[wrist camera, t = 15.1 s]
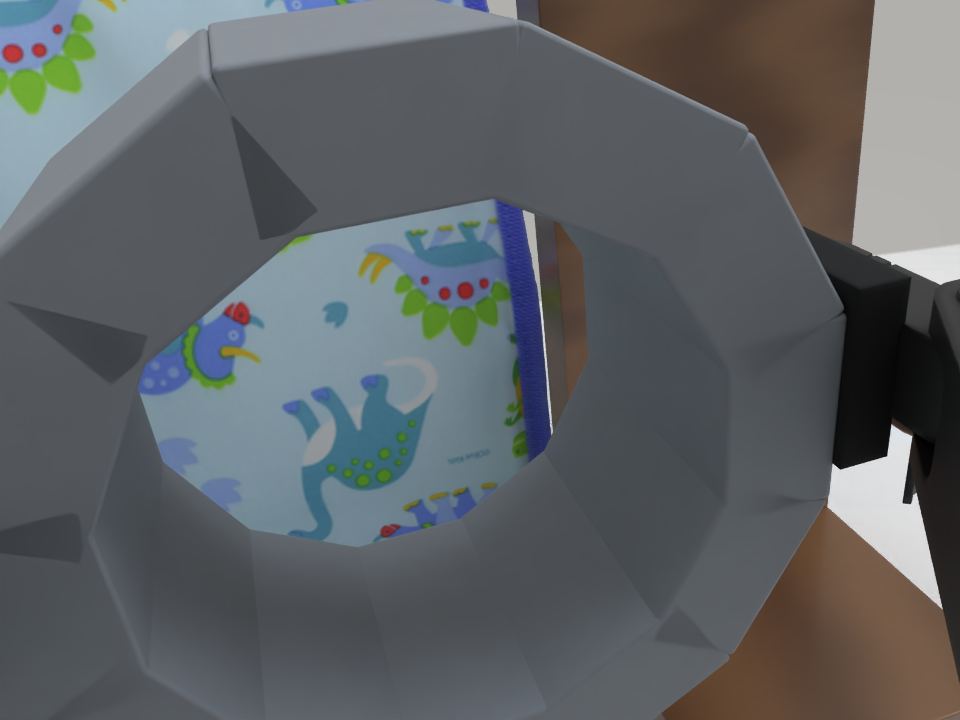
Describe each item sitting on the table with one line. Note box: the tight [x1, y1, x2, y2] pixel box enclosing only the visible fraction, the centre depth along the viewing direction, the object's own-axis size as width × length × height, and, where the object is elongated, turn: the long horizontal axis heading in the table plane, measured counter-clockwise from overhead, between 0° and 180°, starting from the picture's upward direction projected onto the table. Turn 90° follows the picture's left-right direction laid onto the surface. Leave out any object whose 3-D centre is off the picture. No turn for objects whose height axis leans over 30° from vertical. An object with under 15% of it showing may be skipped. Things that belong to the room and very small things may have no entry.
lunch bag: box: [0, 0, 551, 547], centre depth 37 cm, size 22×17×26 cm
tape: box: [0, 0, 847, 720], centre depth 12 cm, size 11×5×11 cm, turn 107°
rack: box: [516, 0, 960, 720], centre depth 25 cm, size 11×13×24 cm
